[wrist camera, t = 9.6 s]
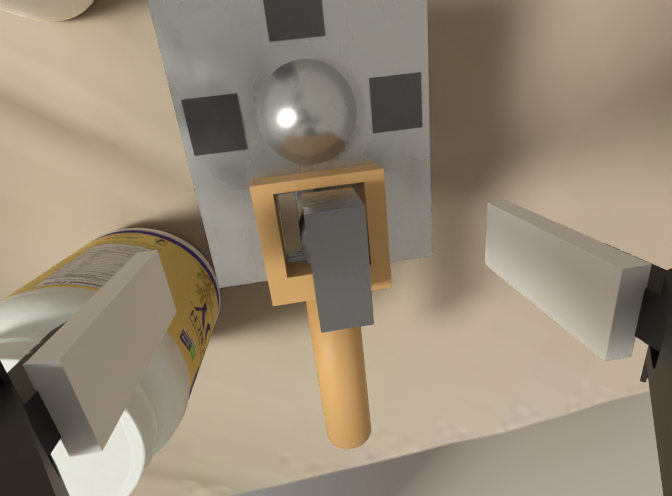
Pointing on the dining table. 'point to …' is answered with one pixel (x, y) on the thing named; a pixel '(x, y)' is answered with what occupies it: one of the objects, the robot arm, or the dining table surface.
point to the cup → (46, 8)
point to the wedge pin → (337, 255)
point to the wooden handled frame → (297, 286)
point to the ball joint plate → (298, 109)
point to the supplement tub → (164, 368)
